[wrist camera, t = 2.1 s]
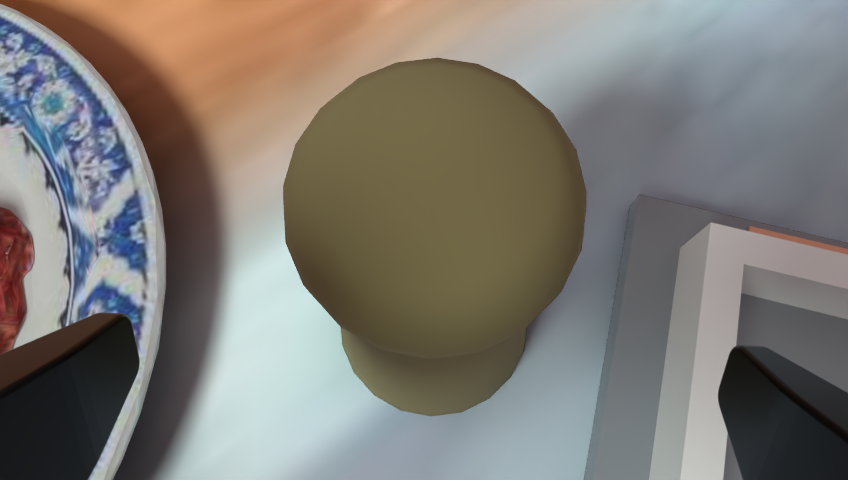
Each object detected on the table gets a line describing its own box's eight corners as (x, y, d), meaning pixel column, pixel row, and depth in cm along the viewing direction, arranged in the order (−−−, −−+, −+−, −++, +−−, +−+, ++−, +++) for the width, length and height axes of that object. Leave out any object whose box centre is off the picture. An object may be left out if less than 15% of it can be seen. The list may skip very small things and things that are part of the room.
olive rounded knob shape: (525, 232, 20) (623, 0, 10) (530, 419, 18) (660, 375, 8) (347, 228, 20) (257, -5, 10) (332, 413, 18) (199, 362, 8)
